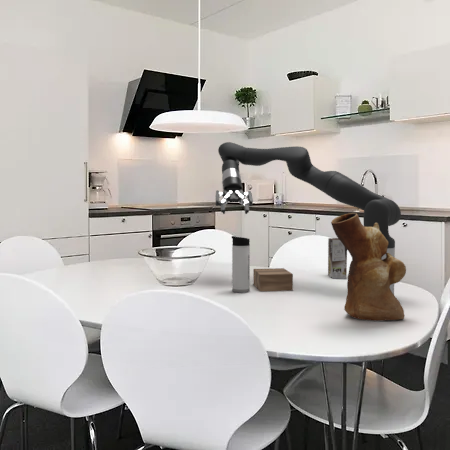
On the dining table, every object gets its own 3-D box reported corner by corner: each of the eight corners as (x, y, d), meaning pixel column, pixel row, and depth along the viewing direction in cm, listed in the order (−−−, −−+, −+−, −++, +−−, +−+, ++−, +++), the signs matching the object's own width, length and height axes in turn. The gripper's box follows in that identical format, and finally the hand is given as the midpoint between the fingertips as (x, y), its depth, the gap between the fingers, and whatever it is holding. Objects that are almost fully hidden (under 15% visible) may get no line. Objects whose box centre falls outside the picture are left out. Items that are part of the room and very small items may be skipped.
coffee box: (347, 278, 213) (347, 239, 212) (331, 278, 213) (331, 239, 212) (342, 275, 222) (343, 237, 221) (327, 275, 222) (328, 237, 221)
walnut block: (292, 290, 188) (292, 274, 187) (260, 291, 186) (260, 274, 186) (283, 283, 202) (283, 268, 201) (253, 284, 200) (253, 268, 200)
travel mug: (228, 290, 188) (228, 235, 187) (245, 289, 191) (245, 234, 189) (235, 293, 182) (235, 237, 181) (252, 292, 185) (252, 236, 184)
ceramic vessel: (415, 322, 143) (418, 213, 141) (342, 326, 138) (343, 214, 136) (386, 309, 158) (388, 211, 156) (319, 312, 154) (320, 212, 152)
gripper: (214, 175, 202) (217, 205, 191) (250, 175, 204) (255, 205, 193) (213, 188, 208) (215, 219, 197) (248, 189, 209) (252, 219, 199)
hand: (235, 212), depth 195 cm, fingers open, 8 cm apart
